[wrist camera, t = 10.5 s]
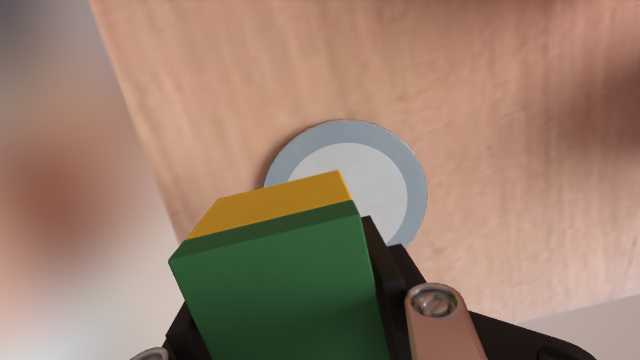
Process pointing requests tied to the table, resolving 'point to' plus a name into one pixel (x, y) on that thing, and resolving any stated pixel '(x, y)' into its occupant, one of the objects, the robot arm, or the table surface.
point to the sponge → (283, 275)
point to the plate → (361, 172)
